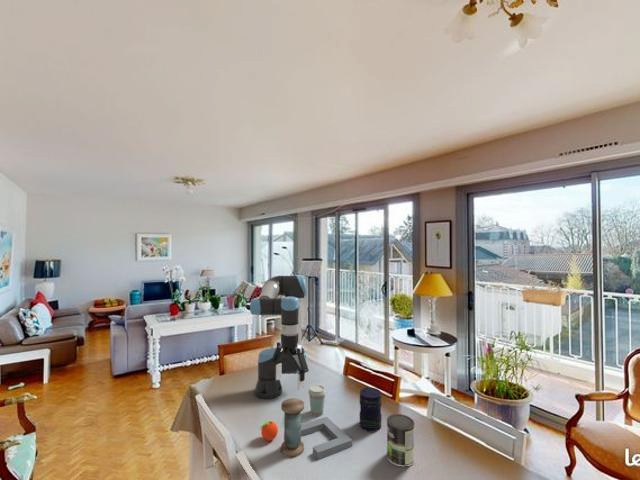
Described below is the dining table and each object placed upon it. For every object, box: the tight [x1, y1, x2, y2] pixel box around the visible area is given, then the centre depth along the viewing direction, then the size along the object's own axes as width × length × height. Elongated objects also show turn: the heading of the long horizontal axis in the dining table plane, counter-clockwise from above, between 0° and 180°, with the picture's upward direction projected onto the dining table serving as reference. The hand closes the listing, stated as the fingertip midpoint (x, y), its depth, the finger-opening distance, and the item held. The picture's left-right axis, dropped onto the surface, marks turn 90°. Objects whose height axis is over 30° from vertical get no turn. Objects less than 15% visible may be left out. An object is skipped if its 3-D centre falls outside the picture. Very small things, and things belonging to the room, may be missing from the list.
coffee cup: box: [308, 384, 327, 417], centre depth 152 cm, size 8×8×12 cm
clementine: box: [258, 420, 279, 441], centre depth 131 cm, size 8×7×7 cm
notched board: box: [301, 416, 353, 460], centre depth 131 cm, size 20×16×2 cm
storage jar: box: [359, 386, 383, 433], centre depth 142 cm, size 10×10×15 cm
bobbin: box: [280, 397, 305, 458], centre depth 124 cm, size 9×9×18 cm
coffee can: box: [386, 413, 415, 468], centre depth 120 cm, size 10×10×14 cm
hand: (289, 383), depth 133 cm, fingers open, 13 cm apart
